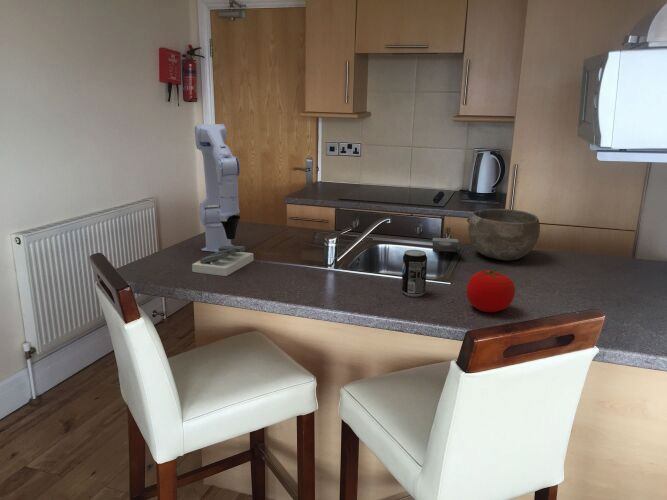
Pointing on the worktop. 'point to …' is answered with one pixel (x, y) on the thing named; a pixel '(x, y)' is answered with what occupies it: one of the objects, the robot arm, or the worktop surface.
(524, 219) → the bowl
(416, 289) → the beverage can
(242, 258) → the switch panel
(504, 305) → the tomato
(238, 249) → the rocker
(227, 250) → the rocker
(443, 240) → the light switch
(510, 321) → the worktop surface
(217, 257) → the rocker
